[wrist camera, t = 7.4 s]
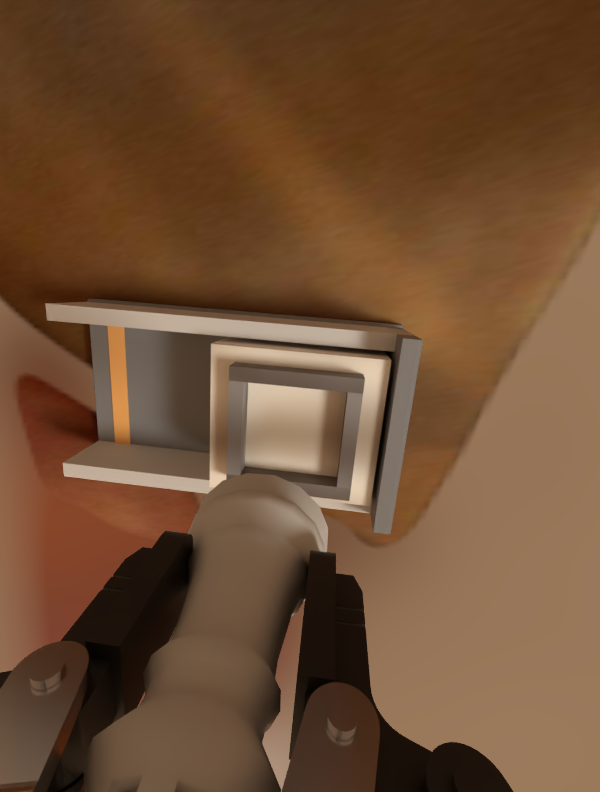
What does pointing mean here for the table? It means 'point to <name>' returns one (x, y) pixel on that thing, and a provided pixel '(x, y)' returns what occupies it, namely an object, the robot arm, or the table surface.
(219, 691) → the rook chess piece
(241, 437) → the frame
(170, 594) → the robot arm
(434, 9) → the table surface
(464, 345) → the table surface
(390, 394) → the crate bay
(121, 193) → the table surface
